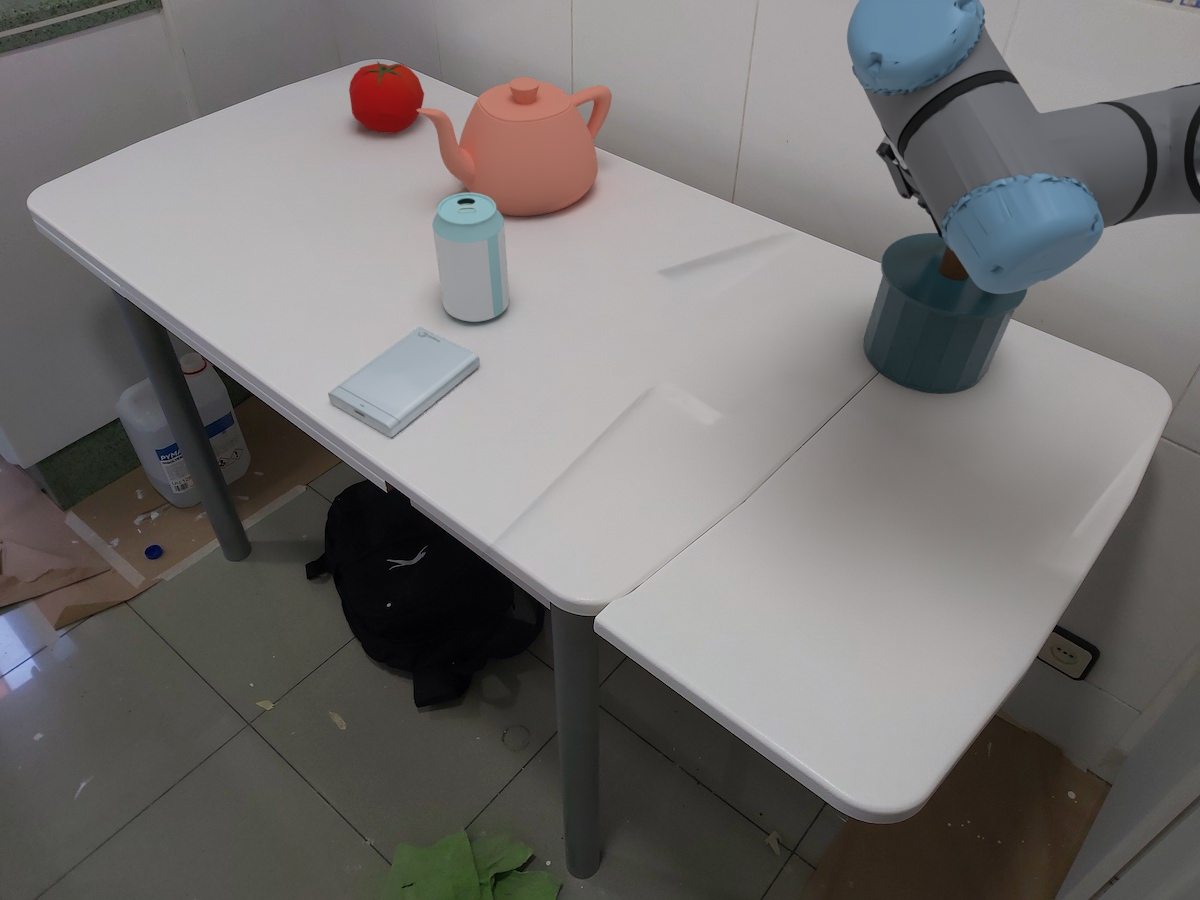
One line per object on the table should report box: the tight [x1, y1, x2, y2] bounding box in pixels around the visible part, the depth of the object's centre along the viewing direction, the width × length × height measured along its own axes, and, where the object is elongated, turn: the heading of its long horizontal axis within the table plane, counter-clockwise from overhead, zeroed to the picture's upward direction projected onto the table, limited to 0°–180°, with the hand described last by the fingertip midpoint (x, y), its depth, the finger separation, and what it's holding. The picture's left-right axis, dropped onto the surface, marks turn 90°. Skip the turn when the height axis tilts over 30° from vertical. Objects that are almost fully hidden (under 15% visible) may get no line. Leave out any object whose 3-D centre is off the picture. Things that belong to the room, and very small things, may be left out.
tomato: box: [348, 60, 425, 134], centre depth 120 cm, size 9×10×8 cm
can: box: [432, 192, 510, 323], centre depth 91 cm, size 7×7×12 cm
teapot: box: [417, 76, 613, 217], centre depth 107 cm, size 25×17×13 cm
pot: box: [862, 275, 1016, 394], centre depth 87 cm, size 12×12×10 cm
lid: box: [880, 232, 1029, 319], centre depth 81 cm, size 13×13×9 cm
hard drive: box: [327, 326, 481, 438], centre depth 85 cm, size 2×8×12 cm
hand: (979, 238), depth 84 cm, fingers open, 5 cm apart
